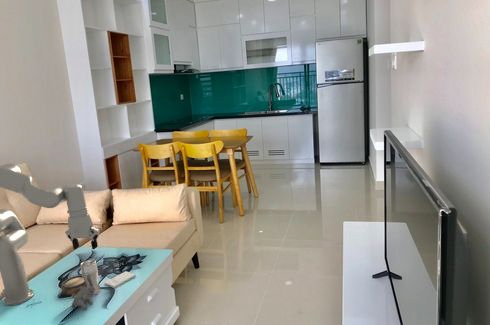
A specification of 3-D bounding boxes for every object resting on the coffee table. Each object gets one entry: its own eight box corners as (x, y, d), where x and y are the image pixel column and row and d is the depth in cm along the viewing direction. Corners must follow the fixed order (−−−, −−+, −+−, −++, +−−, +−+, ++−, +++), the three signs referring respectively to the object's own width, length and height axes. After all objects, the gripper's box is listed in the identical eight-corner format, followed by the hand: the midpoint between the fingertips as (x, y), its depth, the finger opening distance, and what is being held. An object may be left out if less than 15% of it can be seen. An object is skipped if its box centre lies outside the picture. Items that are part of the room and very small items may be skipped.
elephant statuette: (69, 313, 173) (65, 297, 171) (80, 296, 185) (77, 281, 182) (90, 311, 173) (87, 295, 171) (100, 295, 184) (97, 280, 182)
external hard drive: (136, 277, 199) (114, 289, 190) (125, 273, 204) (104, 285, 195) (135, 274, 199) (114, 286, 189) (125, 271, 204) (104, 282, 194)
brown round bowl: (56, 295, 189) (54, 287, 188) (73, 280, 201) (72, 274, 200) (79, 296, 186) (78, 288, 185) (96, 281, 198) (95, 274, 197)
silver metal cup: (96, 296, 184) (90, 266, 180) (82, 296, 185) (76, 266, 182) (104, 288, 190) (99, 259, 187) (91, 288, 192) (85, 259, 188)
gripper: (56, 216, 178) (64, 251, 182) (90, 215, 174) (97, 251, 177) (67, 210, 185) (74, 244, 189) (100, 209, 181) (107, 244, 184)
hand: (85, 248), depth 183 cm, fingers open, 9 cm apart
